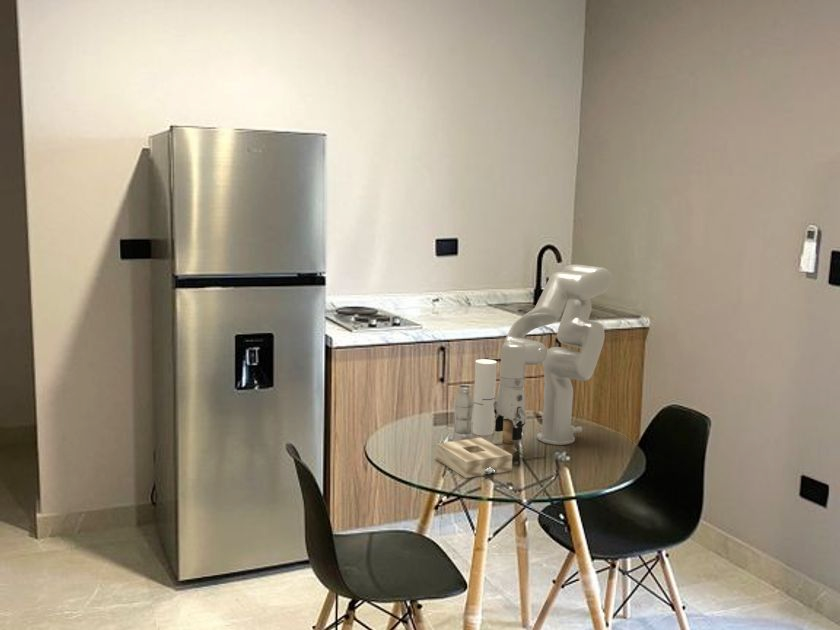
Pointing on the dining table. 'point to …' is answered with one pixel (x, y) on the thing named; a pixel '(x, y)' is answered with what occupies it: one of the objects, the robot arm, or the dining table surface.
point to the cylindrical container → (484, 397)
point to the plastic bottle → (463, 414)
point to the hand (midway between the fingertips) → (508, 435)
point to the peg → (508, 437)
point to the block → (473, 457)
